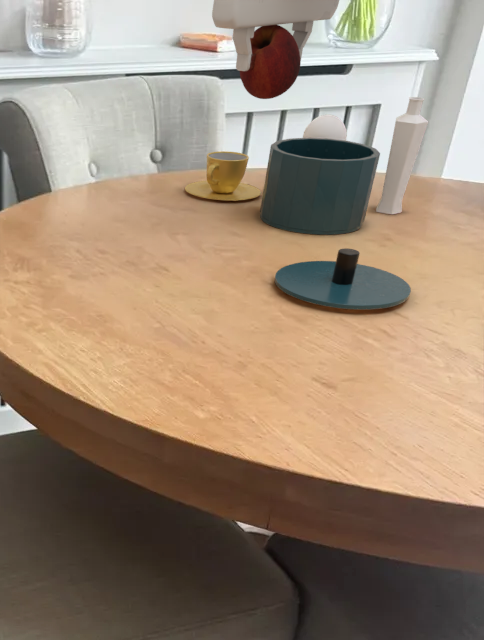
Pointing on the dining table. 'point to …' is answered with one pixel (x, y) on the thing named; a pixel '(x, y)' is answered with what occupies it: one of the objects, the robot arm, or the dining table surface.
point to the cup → (224, 178)
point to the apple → (272, 62)
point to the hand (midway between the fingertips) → (268, 67)
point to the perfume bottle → (402, 156)
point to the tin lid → (342, 283)
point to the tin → (318, 185)
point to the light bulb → (326, 128)
